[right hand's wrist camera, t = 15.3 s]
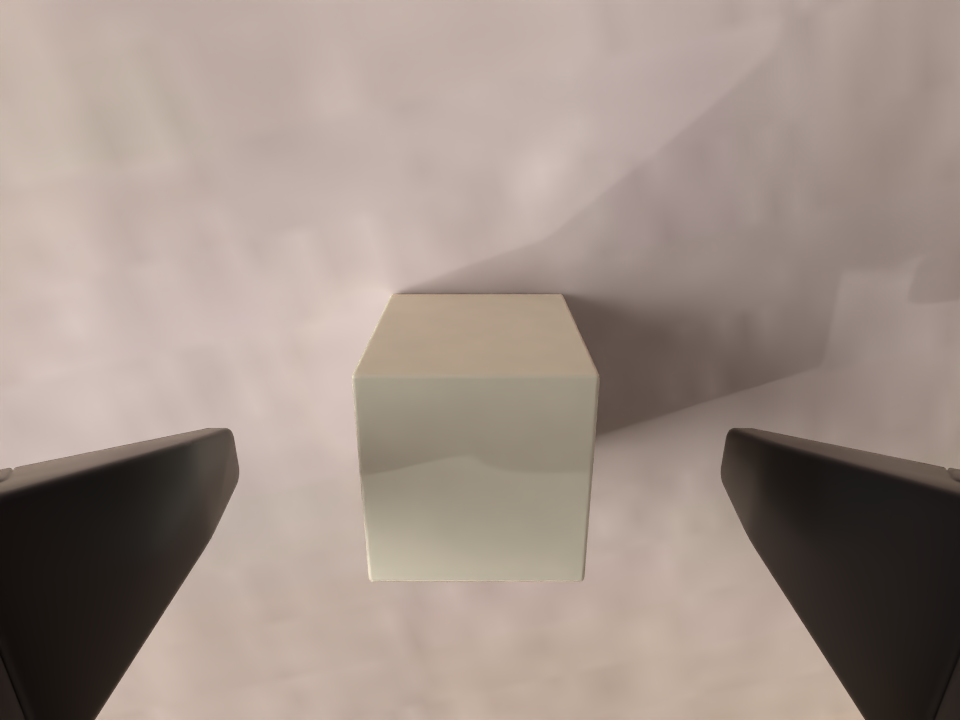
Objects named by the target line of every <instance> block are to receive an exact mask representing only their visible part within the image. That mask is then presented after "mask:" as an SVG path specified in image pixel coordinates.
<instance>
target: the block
mask: <svg viewBox="0 0 960 720" xmlns="http://www.w3.org/2000/svg"><path fill="white" fill-rule="evenodd" d="M599 383H600V376H599V373H598V371H597V369H596V367H595V365H594V362H593V360H592V358H591V356H590V354H589V352H588V349H587V347H586V345H585V343H584V341H583V338H582V336H581V334H580V332H579V330H578V327H577V325H576V323H575V321H574V319H573V316H572V314H571V312H570V310H569V308H568V305H567V303H566V301H565V299H564V297H563V295H561V294H393V295H391V297H390V299H389V301H388V303H387V305H386V307H385V309H384V311H383V313H382V315H381V317H380V319H379V321H378V323H377V325H376V328H375V330H374V332H373V334H372V336H371V338H370V340H369V342H368V344H367V346H366V348H365V350H364V352H363V354H362V357H361V359H360V361H359V363H358V365H357V367H356V369H355V371H354V373H353V375H352V387H353V398H354V410H355V422H356V433H357V445H358V457H359V468H360V480H361V492H362V503H363V515H364V527H365V538H366V550H367V562H368V573H369V579H370V581H373V582H502V581H583V579H584V575H585V562H586V549H587V537H588V524H589V511H590V498H591V486H592V473H593V460H594V447H595V434H596V422H597V409H598V396H599Z"/></svg>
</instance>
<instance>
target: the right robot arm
mask: <svg viewBox="0 0 960 720" xmlns="http://www.w3.org/2000/svg"><path fill="white" fill-rule="evenodd" d="M238 478H239V465H238V459H237V453H236V448H235V442H234V436H233V434H232V432H231V430H229V429H227V428H207V429H202V430H197V431H192V432H187V433H182V434H177V435H172V436H167V437H162V438H158V439H153V440H148V441H143V442H138V443H133V444H128V445H123V446H118V447H113V448H108V449H104V450H99V451H94V452H89V453H84V454H79V455H74V456H69V457H64V458H59V459H55V460H50V461H45V462H40V463H35V464H30V465H25V466H20V467H16V468H14V470H12V469H11V468H6V469H1V470H0V720H95V719H96V717H97V716H98V714H99V713H100V711H101V709H102V708H103V706H104V705H105V703H106V702H107V700H108V699H109V697H110V695H111V694H112V692H113V691H114V689H115V688H116V686H117V685H118V683H119V681H120V680H121V678H122V677H123V675H124V674H125V672H126V671H127V669H128V667H129V666H130V664H131V663H132V661H133V660H134V658H135V657H136V655H137V653H138V652H139V650H140V649H141V647H142V646H143V644H144V643H145V641H146V639H147V638H148V636H149V635H150V633H151V632H152V630H153V629H154V627H155V625H156V624H157V622H158V621H159V619H160V618H161V616H162V615H163V613H164V611H165V610H166V608H167V607H168V605H169V604H170V602H171V600H172V599H173V597H174V596H175V594H176V593H177V591H178V590H179V588H180V586H181V585H182V583H183V582H184V580H185V579H186V577H187V576H188V574H189V572H190V571H191V569H192V568H193V566H194V565H195V563H196V562H197V560H198V558H199V557H200V555H201V554H202V552H203V551H204V549H205V547H206V546H207V544H208V542H209V541H210V539H211V537H212V535H213V533H214V531H215V529H216V527H217V525H218V523H219V521H220V519H221V517H222V515H223V512H224V510H225V508H226V506H227V504H228V502H229V500H230V498H231V496H232V493H233V491H234V489H235V487H236V485H237V482H238ZM721 478H722V482H723V485H724V487H725V489H726V491H727V493H728V496H729V498H730V500H731V502H732V504H733V506H734V508H735V510H736V513H737V515H738V517H739V519H740V521H741V523H742V525H743V527H744V529H745V531H746V533H747V535H748V537H749V539H750V541H751V542H752V544H753V546H754V547H755V549H756V551H757V552H758V554H759V555H760V557H761V558H762V560H763V562H764V563H765V565H766V566H767V568H768V569H769V571H770V572H771V574H772V576H773V577H774V579H775V580H776V582H777V583H778V585H779V586H780V588H781V590H782V591H783V593H784V594H785V596H786V597H787V599H788V600H789V602H790V604H791V605H792V607H793V608H794V610H795V611H796V613H797V614H798V616H799V618H800V619H801V621H802V622H803V624H804V625H805V627H806V628H807V630H808V632H809V633H810V635H811V636H812V638H813V639H814V641H815V642H816V644H817V646H818V647H819V649H820V650H821V652H822V653H823V655H824V656H825V658H826V660H827V661H828V663H829V664H830V666H831V667H832V669H833V670H834V672H835V674H836V675H837V677H838V678H839V680H840V681H841V683H842V684H843V686H844V688H845V689H846V691H847V692H848V694H849V695H850V697H851V698H852V700H853V702H854V703H855V705H856V706H857V708H858V709H859V711H860V713H861V714H862V716H863V717H864V719H865V720H960V470H959V469H954V468H949V469H948V470H946V468H944V467H940V466H935V465H930V464H925V463H921V462H916V461H911V460H906V459H901V458H896V457H891V456H886V455H881V454H876V453H871V452H866V451H862V450H857V449H852V448H847V447H842V446H837V445H832V444H827V443H822V442H817V441H812V440H808V439H803V438H798V437H793V436H788V435H783V434H778V433H773V432H768V431H763V430H758V429H753V428H733V429H731V430H729V432H728V434H727V436H726V442H725V448H724V453H723V459H722V465H721Z"/></svg>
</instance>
